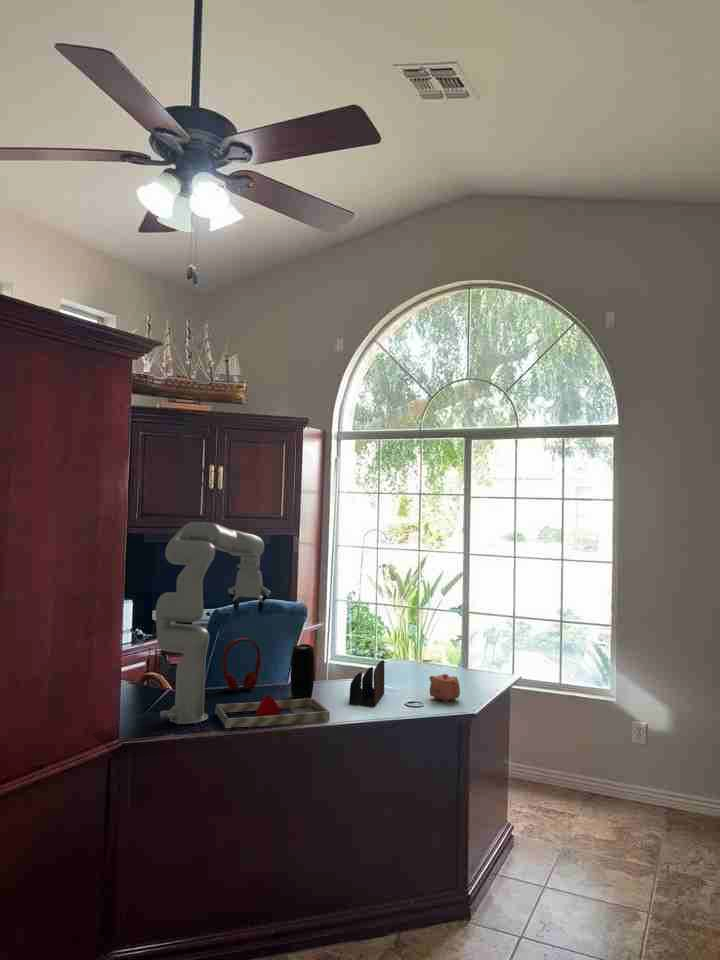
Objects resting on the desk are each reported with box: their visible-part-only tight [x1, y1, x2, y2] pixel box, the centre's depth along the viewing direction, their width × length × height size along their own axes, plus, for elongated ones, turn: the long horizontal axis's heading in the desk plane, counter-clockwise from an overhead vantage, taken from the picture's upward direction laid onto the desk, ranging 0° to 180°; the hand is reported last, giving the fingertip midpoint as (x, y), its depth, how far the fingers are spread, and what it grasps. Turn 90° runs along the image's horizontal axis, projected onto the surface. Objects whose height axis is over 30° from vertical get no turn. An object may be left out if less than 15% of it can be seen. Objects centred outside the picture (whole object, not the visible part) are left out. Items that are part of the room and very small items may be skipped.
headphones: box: [221, 637, 261, 692], centre depth 289 cm, size 15×7×20 cm, turn 118°
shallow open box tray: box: [215, 697, 331, 729], centre depth 255 cm, size 36×18×4 cm, turn 112°
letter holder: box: [348, 659, 385, 708], centre depth 282 cm, size 10×20×14 cm, turn 168°
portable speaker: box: [289, 643, 315, 700], centre depth 281 cm, size 9×9×20 cm
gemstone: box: [253, 694, 282, 717], centre depth 254 cm, size 9×9×10 cm
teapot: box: [429, 673, 461, 703], centre depth 285 cm, size 12×12×10 cm
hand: (248, 611), depth 292 cm, fingers open, 9 cm apart
